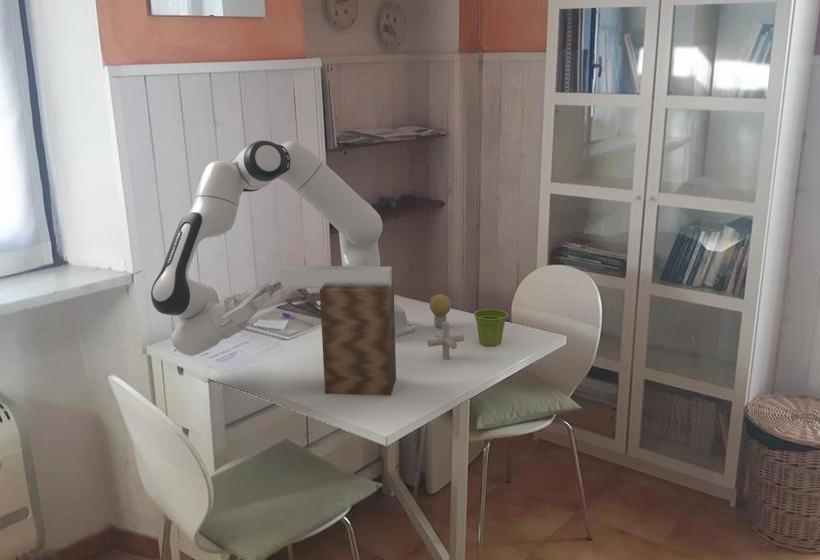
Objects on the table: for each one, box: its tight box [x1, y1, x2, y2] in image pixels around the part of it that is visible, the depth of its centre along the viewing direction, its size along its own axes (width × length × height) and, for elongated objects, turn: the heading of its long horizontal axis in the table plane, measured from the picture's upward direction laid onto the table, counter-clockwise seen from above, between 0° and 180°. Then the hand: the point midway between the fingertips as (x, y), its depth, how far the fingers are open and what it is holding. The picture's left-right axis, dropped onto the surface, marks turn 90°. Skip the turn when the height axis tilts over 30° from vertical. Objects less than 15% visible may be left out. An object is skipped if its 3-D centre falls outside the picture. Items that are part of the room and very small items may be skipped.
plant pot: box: [473, 308, 509, 347], centre depth 218 cm, size 9×9×9 cm
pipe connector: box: [427, 321, 465, 360], centre depth 207 cm, size 10×10×10 cm
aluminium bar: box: [279, 265, 393, 288], centre depth 184 cm, size 26×4×4 cm, turn 84°
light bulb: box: [429, 293, 452, 329], centre depth 232 cm, size 6×6×10 cm
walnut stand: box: [319, 279, 397, 396], centre depth 188 cm, size 16×10×26 cm, turn 84°
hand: (276, 289), depth 187 cm, fingers open, 8 cm apart
